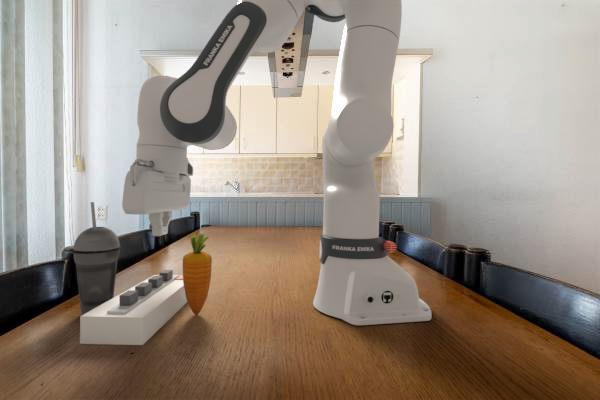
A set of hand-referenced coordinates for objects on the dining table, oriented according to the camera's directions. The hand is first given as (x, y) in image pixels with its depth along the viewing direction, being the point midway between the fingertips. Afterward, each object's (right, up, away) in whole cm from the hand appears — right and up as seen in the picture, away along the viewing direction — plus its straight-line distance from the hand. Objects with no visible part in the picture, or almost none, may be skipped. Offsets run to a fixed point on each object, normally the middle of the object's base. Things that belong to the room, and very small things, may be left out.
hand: (160, 235), depth 58 cm
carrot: (+9, -14, -4) cm, 17 cm away
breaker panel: (0, -14, -4) cm, 14 cm away
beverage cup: (-9, -14, -4) cm, 17 cm away
